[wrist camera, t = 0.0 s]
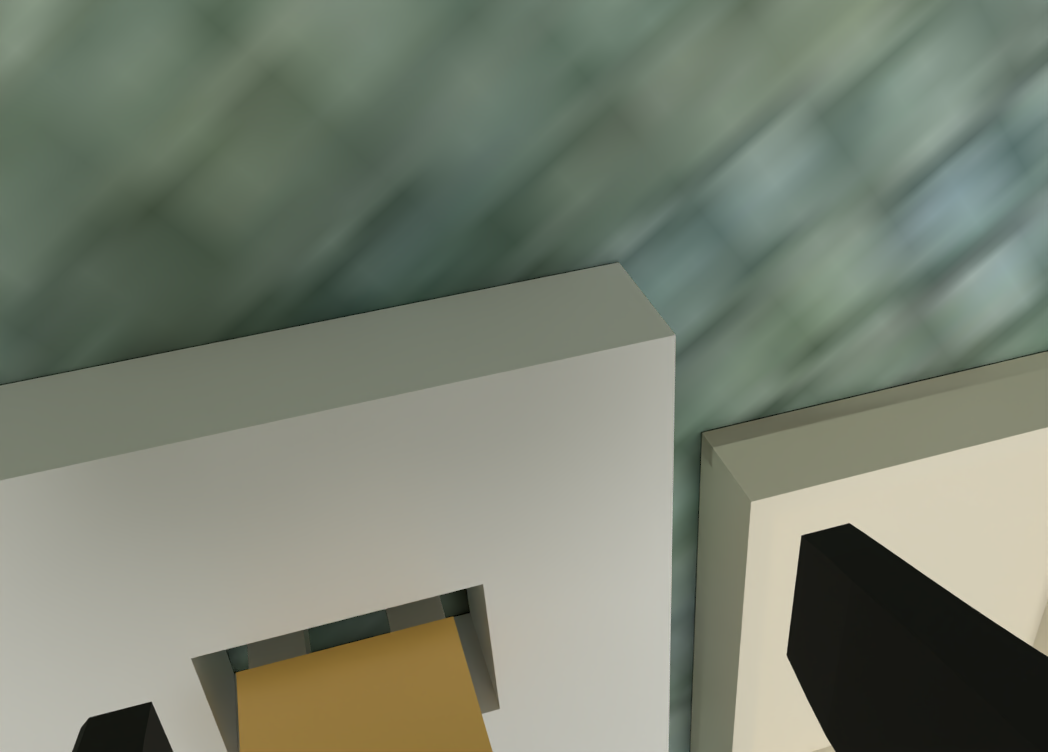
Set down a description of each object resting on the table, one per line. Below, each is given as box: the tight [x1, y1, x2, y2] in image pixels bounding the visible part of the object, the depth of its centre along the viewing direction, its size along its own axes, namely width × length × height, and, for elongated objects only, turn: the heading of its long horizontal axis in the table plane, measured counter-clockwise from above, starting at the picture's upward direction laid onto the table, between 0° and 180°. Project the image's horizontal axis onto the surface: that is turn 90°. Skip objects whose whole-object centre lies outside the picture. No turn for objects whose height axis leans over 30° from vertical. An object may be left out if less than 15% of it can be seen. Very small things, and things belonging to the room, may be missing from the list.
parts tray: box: [690, 351, 1048, 752], centre depth 28 cm, size 14×12×3 cm
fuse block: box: [0, 262, 676, 752], centre depth 22 cm, size 14×14×3 cm
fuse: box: [236, 595, 493, 752], centre depth 20 cm, size 3×4×8 cm, turn 95°
